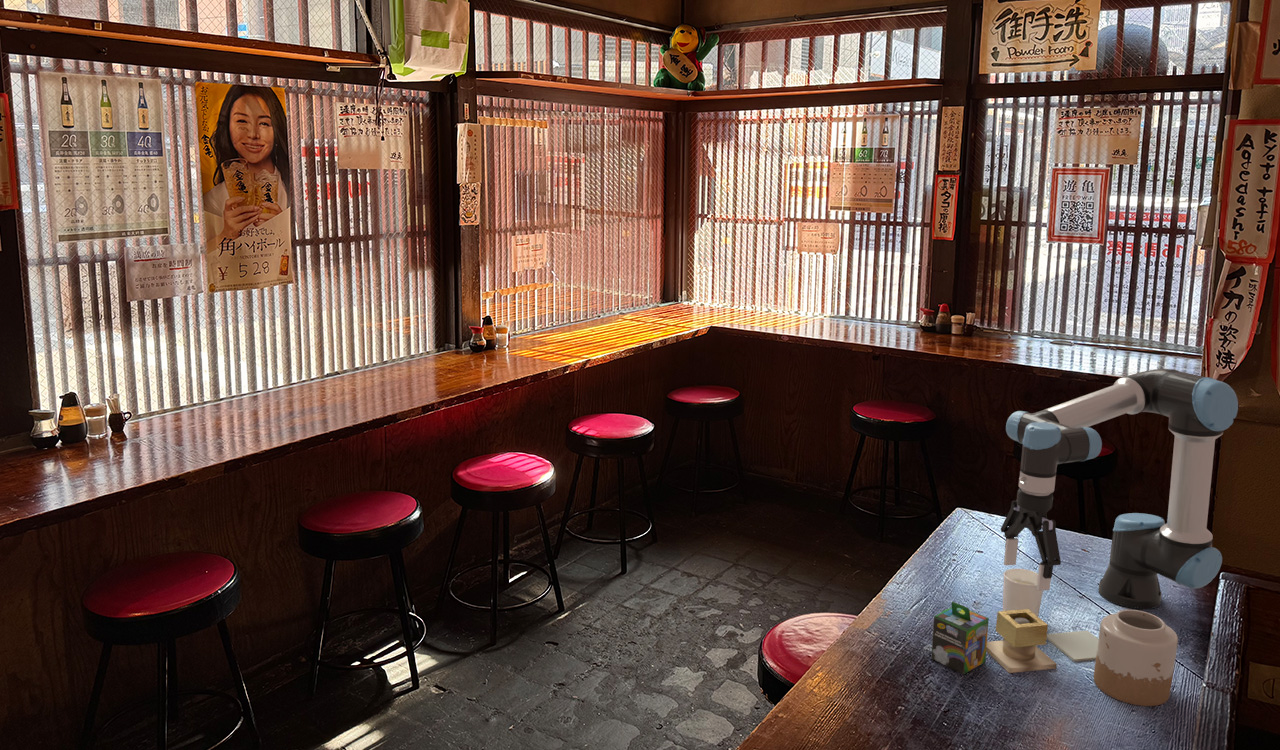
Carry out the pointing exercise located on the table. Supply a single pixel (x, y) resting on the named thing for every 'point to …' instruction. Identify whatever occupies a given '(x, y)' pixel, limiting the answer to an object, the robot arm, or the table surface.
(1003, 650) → the stand
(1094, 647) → the felt mat
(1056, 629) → the table surface
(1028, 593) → the candle holder
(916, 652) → the table surface
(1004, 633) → the square wooden frame
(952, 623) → the chalk box
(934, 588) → the table surface
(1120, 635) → the vase
